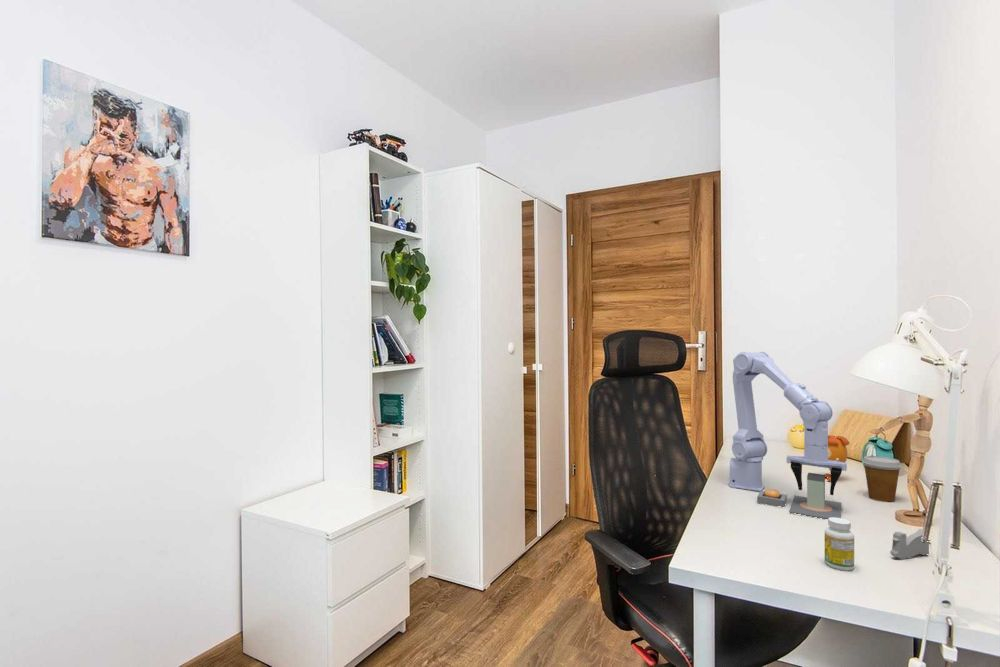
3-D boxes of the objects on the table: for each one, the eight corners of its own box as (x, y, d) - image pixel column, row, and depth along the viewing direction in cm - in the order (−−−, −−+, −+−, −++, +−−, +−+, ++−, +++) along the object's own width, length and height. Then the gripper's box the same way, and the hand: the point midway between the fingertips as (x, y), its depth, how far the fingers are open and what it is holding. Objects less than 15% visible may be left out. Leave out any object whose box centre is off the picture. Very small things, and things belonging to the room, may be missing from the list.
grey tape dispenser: (928, 556, 114) (895, 560, 112) (922, 553, 116) (888, 558, 113) (929, 530, 114) (895, 534, 112) (922, 528, 116) (889, 532, 113)
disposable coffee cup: (896, 496, 157) (896, 457, 157) (905, 505, 148) (905, 464, 148) (859, 492, 161) (859, 454, 161) (866, 501, 152) (866, 460, 152)
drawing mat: (788, 513, 142) (788, 511, 142) (794, 496, 156) (794, 494, 156) (840, 522, 135) (840, 520, 135) (841, 503, 150) (841, 502, 150)
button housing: (757, 503, 150) (757, 496, 150) (760, 497, 156) (760, 490, 156) (784, 507, 146) (784, 500, 146) (786, 501, 152) (786, 494, 152)
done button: (763, 498, 150) (763, 491, 150) (765, 494, 154) (765, 488, 154) (779, 500, 148) (779, 493, 148) (780, 497, 151) (780, 490, 152)
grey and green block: (807, 507, 145) (807, 475, 145) (808, 503, 148) (808, 472, 148) (823, 509, 143) (823, 477, 143) (824, 506, 146) (824, 474, 146)
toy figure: (818, 474, 182) (818, 432, 182) (844, 477, 179) (844, 434, 179) (825, 483, 171) (826, 438, 171) (854, 486, 168) (854, 440, 168)
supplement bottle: (852, 573, 105) (852, 527, 105) (822, 565, 109) (822, 520, 109) (855, 564, 109) (855, 519, 110) (826, 557, 113) (826, 514, 113)
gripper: (847, 445, 145) (847, 493, 145) (788, 438, 153) (788, 484, 153) (846, 449, 139) (845, 499, 139) (785, 442, 148) (785, 489, 148)
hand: (815, 491), depth 146 cm, fingers open, 7 cm apart
